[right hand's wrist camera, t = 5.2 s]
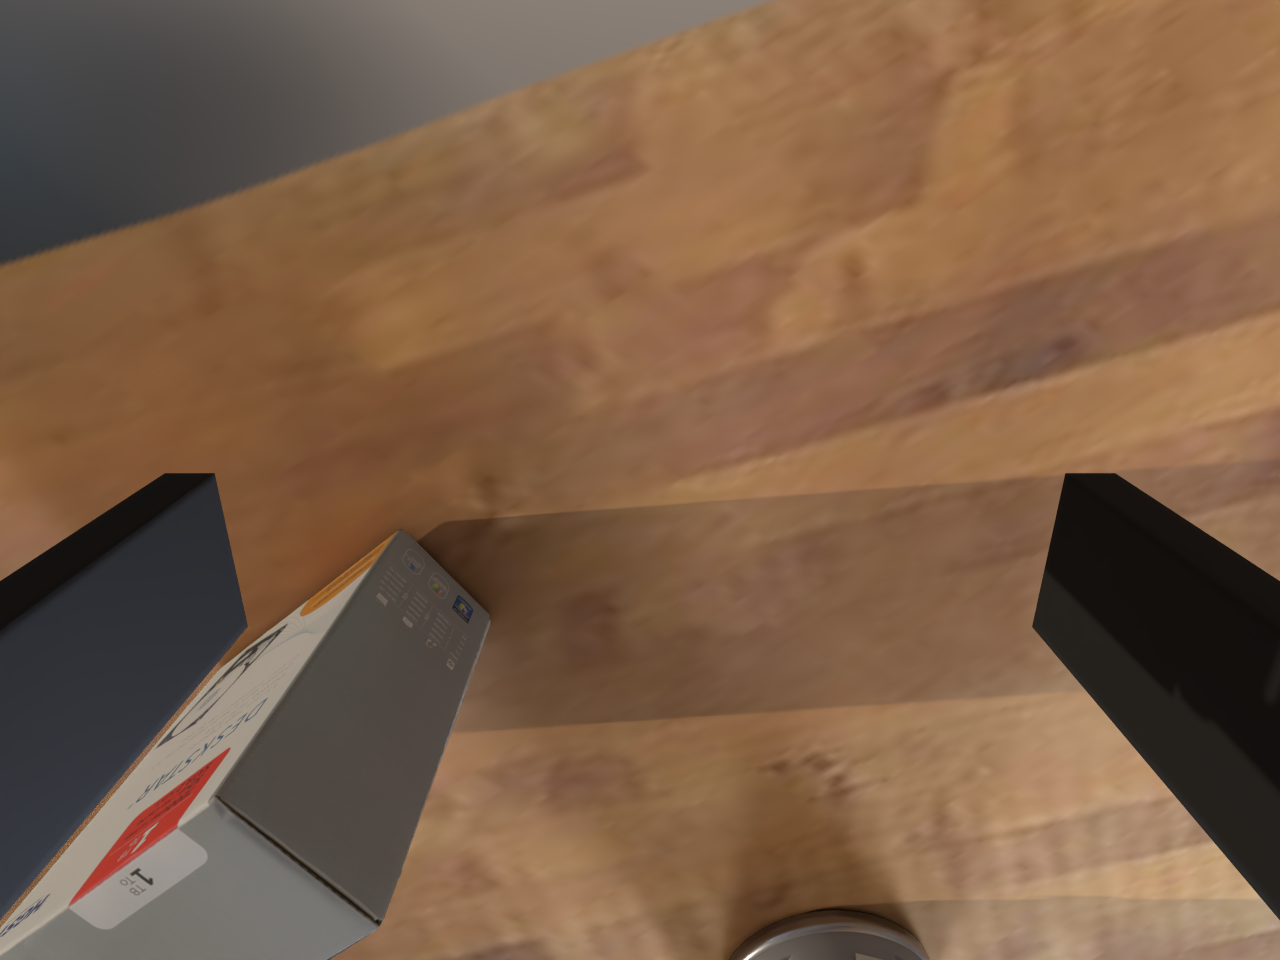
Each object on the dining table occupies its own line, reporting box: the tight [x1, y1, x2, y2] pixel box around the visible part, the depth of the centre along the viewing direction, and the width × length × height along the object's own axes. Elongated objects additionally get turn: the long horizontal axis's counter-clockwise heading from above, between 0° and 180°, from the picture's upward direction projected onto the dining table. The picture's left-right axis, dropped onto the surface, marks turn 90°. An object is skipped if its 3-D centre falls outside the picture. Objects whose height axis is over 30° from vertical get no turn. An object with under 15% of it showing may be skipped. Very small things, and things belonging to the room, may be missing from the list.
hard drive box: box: [0, 529, 491, 960], centre depth 37 cm, size 16×8×20 cm, turn 128°
